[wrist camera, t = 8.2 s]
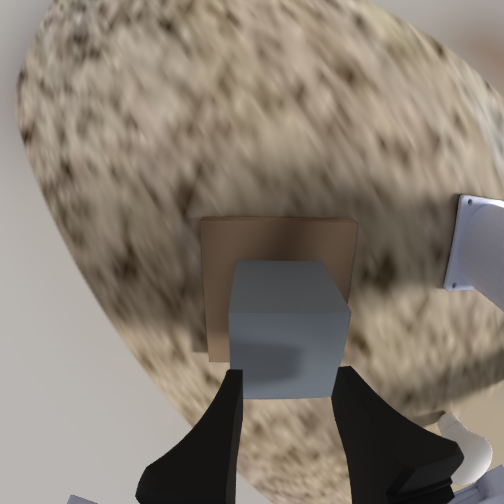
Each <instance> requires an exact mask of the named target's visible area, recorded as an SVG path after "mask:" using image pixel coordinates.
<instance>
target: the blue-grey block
mask: <svg viewBox="0 0 504 504" xmlns="http://www.w3.org/2000/svg"><path fill="white" fill-rule="evenodd" d="M228 315H229V350H230V369H243V399H301V398H319V397H331V396H332V392H333V387H334V383H335V379H336V375H337V370H338V367H340V364H341V360H342V355H343V351H344V346H345V341H346V336H347V332H348V326H349V321H350V316H351V311H350V309H349V307H348V305H347V304H346V302H345V300H344V298H343V296H342V295H341V293H340V291H339V289H338V287H337V286H336V284H335V282H334V280H333V279H332V277H331V275H330V273H329V272H328V270H327V268H326V266H325V265H324V263H323V261H266V260H236V264H235V271H234V278H233V285H232V291H231V298H230V305H229V312H228Z"/></svg>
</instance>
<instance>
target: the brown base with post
mask: <svg viewBox="0 0 504 504" xmlns="http://www.w3.org/2000/svg"><path fill="white" fill-rule="evenodd" d="M357 227H358V223H357V222H355V221H354V220H353V219H337V218H301V217H202V219H201V220H200V233H201V255H202V274H203V290H204V305H205V319H206V332H207V344H208V355H209V362H230V350H229V315H228V312H229V305H230V298H231V291H232V285H233V278H234V271H235V264H236V260H266V261H323V263H324V265H325V266H326V268H327V270H328V272H329V273H330V275H331V277H332V279H333V280H334V282H335V284H336V286H337V287H338V289H339V291H340V293H341V295H342V296H343V298H344V300H345V302H346V304H347V303H348V297H349V291H350V284H351V277H352V270H353V262H354V254H355V245H356V236H357Z"/></svg>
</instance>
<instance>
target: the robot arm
mask: <svg viewBox="0 0 504 504" xmlns="http://www.w3.org/2000/svg"><path fill="white" fill-rule="evenodd" d="M468 200H470V202H469V204H468ZM453 284H454V285H453ZM452 285H453V286H452ZM443 287H444V289H445V290H447V291H457V290H471V289H476V290H478V291H479V292H480V293H481V294H483V295H484V296H485V297H486V298H488V299H489V300H490V301H491V302H493V303H494V304H495V305H496V306H497V307H499V308H500V309H501V310H502V311H503V312H504V201H502V200H496V199H490V198H484V197H478V196H471V195H461V196H460V198H459V204H458V212H457V219H456V226H455V232H454V238H453V243H452V249H451V254H450V259H449V263H448V268H447V272H446V277H445V281H444V286H443ZM331 400H332V406H333V412H334V417H335V421H336V424H337V427H338V431H339V434H340V437H341V440H342V444H343V447H344V450H345V454H346V458H347V464H348V471H349V478H350V486H351V495H352V504H504V467H503V465H499V466H498V467H496V468H494V469H492V470H490V471H488V472H487V473H485V474H484V475H482V476H481V477H480V478H479V479H478V480H477V482H476V483H474V484H472V485H470V486H468V487H466V488H464V489H461V490H459V491H457V492H454V493H453V491H452V488H451V486H450V485H451V484H452V483H453V481H452V479H451V476H452V475H453V474H454V472H455V471H456V470H457V469H458V468H459V467H460V466H461V464H462V463H463V460H464V458H465V457H464V455H463V453H462V451H461V449H460V447H459V445H458V444H457V442H455V441H452V440H450V439H447V438H444V437H441V436H438V435H436V434H434V433H432V432H429V431H427V430H425V429H423V428H422V427H420V426H418V425H416V424H415V423H413V422H411V421H410V420H408V419H407V418H405V417H404V416H402V415H401V414H400V413H398V412H397V411H396V410H394V409H393V408H392V407H391V406H389V405H388V404H387V403H386V402H385V401H384V400H383V399H382V398H381V397H379V396H378V395H377V394H376V392H375V391H374V390H373V389H372V388H371V387H370V386H369V385H368V384H367V383H366V382H365V381H364V380H363V379H362V378H361V377H360V375H359V374H358V373H357V372H356V371H355V370H354V369H353V368H352V367H351V366H344V367H338V370H337V375H336V379H335V383H334V387H333V392H332V396H331ZM242 421H243V369H229V370H227V372H226V375H225V378H224V380H223V382H222V385H221V387H220V389H219V391H218V393H217V394H216V396H215V398H214V400H213V401H212V403H211V405H210V406H209V408H208V409H207V410H206V412H205V413H204V415H203V416H202V418H201V419H200V420H199V421H198V423H197V424H196V425H195V426H194V427H193V429H192V430H191V431H190V432H189V433H188V434H187V435H186V436H185V437H184V438H183V439H182V440H181V441H180V442H179V443H178V444H177V445H176V446H174V447H173V448H172V449H171V450H170V451H169V452H167V453H166V454H165V455H164V456H162V457H161V458H159V459H158V460H156V461H155V462H153V463H152V464H150V465H149V466H147V467H146V469H145V471H144V472H143V474H142V476H141V478H140V481H139V483H138V487H137V491H136V495H135V497H136V499H137V500H138V502H139V503H140V504H235V495H236V465H237V456H238V449H239V442H240V435H241V428H242ZM67 504H97V503H95V502H92V501H89V500H86V499H83V498H81V497H78V496H75V495H70V498H69V501H68V503H67Z"/></svg>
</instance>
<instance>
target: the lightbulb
mask: <svg viewBox="0 0 504 504" xmlns="http://www.w3.org/2000/svg"><path fill="white" fill-rule="evenodd" d="M437 425H438V428H439V430H440V432H441V434H442V435H441V437H444V438H447V439H450V440H452V441H455V442H457V444H458V445H459V447H460V449H461V451H462V453H463V455H464V457H465V458H464V460H463V463H462V464H461V466H460V467H459V468H458V469H457V470H456V471H455V472H454V474H453V475H452V476H451V479H452V481H453V483H454V484H457V485H466V484H469V483H472V482H474V481H476V480H477V479H479V478H480V477H481V476H482V475H483V474H484V473H485V472H486V470H487V469H488V467H489V465H490V463H491V460H492V447H491V445H490V443H489V442H488V441H487V440H486V439H485V438H484V437H482V436H479V435H477V434H474V433H472V432H471V431H469V430H468V429H467V428H466V427H465V426H464V424H463V423H462V422H459V420H458V419H457V417H456V415H455V414H454V413H452V412H449V413H444V414H443V415H442V416H441V417H440V419H439V420H438V423H437Z"/></svg>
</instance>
